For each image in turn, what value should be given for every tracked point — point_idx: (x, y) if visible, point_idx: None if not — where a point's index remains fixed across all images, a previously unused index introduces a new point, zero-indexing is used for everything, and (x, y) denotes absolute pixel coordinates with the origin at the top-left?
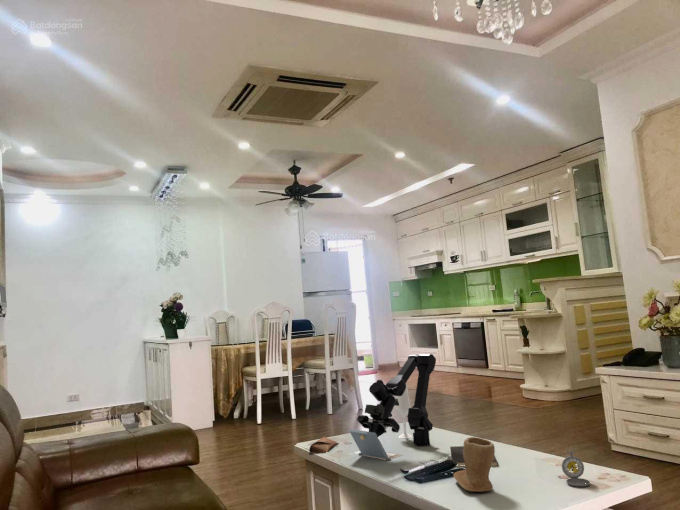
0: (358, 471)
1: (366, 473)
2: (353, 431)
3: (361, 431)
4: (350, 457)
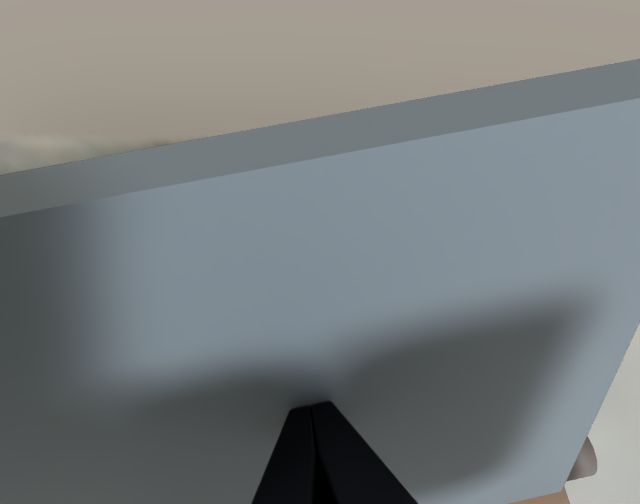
0: (140, 148)
1: (40, 162)
2: (555, 77)
3: (296, 148)
4: (633, 364)
